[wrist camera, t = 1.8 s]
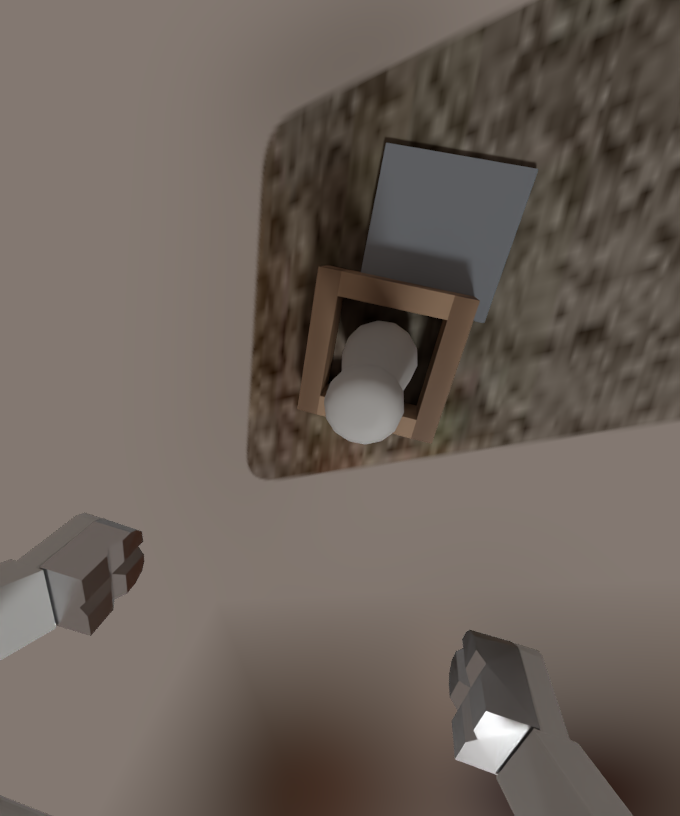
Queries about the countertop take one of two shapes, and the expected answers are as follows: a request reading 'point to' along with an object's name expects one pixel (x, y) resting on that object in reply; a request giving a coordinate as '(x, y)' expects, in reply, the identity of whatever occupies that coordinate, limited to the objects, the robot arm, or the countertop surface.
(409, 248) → the slate mat
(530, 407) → the countertop surface
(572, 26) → the countertop surface
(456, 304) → the pocket frame
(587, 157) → the countertop surface
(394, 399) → the salt shaker
